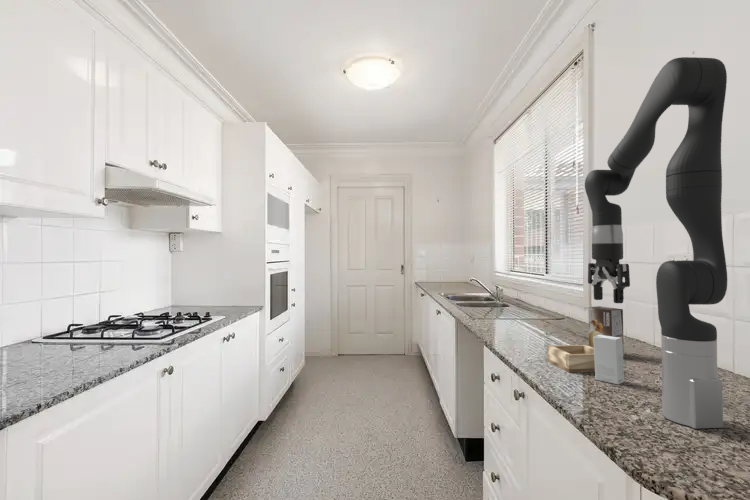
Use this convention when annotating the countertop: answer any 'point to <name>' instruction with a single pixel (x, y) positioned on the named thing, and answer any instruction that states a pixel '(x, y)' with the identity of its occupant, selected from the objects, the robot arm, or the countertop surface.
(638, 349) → the countertop surface
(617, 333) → the coffee box
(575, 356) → the light wooden tray
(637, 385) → the countertop surface
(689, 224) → the robot arm
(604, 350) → the skincare box
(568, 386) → the countertop surface
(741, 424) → the countertop surface
